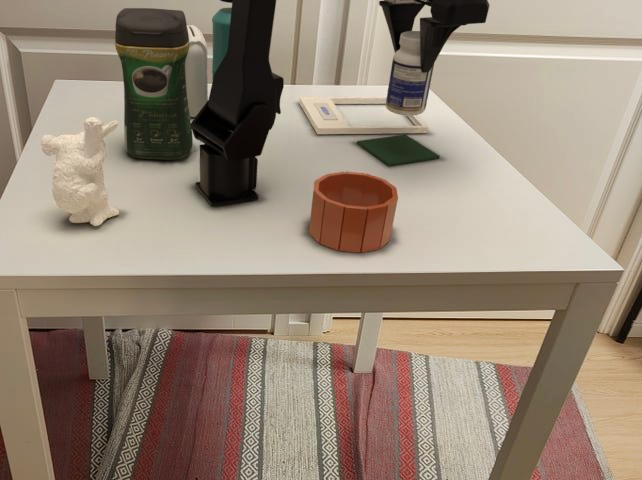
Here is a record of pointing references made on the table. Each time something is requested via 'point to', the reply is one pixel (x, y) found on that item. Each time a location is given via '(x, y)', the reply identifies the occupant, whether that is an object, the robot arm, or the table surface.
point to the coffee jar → (154, 82)
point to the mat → (397, 150)
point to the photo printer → (196, 71)
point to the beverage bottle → (220, 35)
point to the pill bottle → (408, 78)
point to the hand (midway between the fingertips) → (412, 66)
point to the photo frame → (332, 121)
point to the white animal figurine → (81, 172)
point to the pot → (352, 211)
